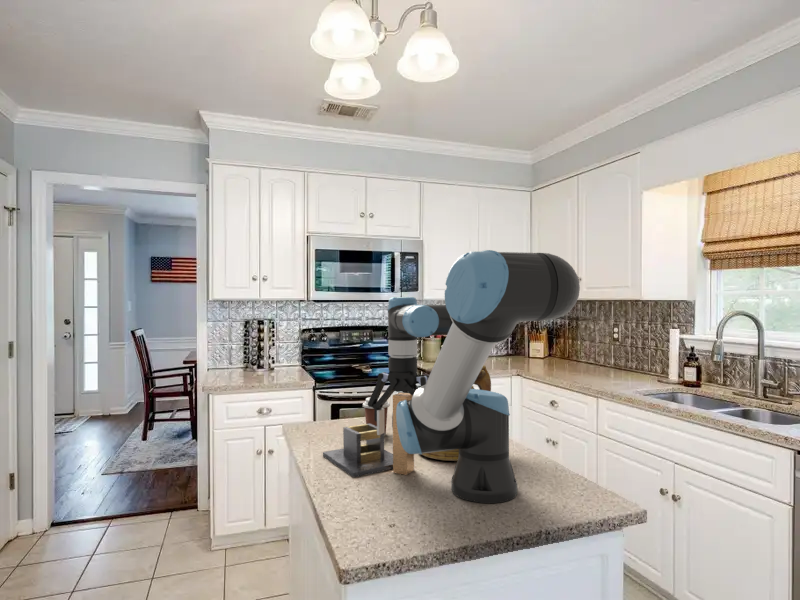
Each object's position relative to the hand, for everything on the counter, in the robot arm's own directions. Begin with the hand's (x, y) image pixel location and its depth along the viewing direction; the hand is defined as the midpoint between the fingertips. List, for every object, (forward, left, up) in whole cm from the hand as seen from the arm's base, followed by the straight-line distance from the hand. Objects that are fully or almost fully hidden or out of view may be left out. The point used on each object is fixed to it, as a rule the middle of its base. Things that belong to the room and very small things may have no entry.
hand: (403, 437), depth 126 cm
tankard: (+6, -22, -9) cm, 24 cm away
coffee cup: (+35, -11, -9) cm, 38 cm away
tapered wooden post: (0, 0, -9) cm, 9 cm away
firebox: (+13, +5, -9) cm, 16 cm away
